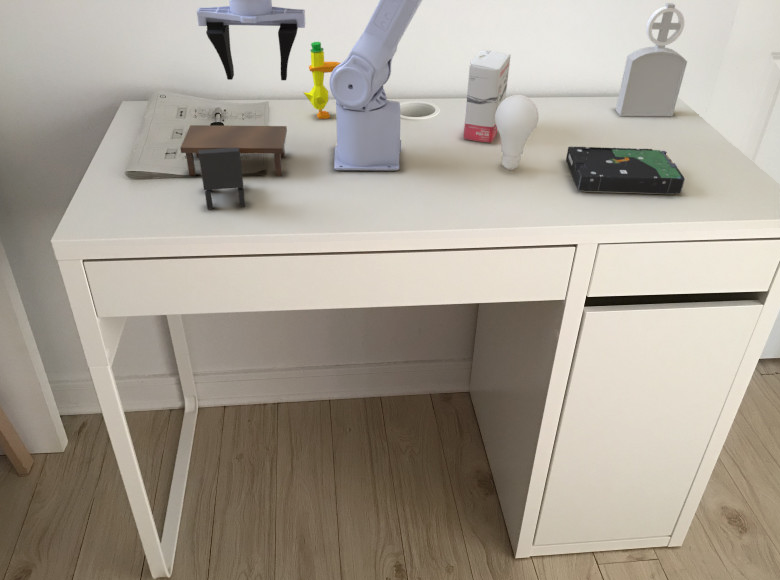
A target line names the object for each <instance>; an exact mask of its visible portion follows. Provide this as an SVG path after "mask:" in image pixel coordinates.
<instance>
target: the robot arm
mask: <svg viewBox="0 0 780 580" xmlns="http://www.w3.org/2000/svg"><path fill="white" fill-rule="evenodd" d="M422 2H423V0H379V1H378V3H377V5H376V7H375V9H374V11H373V13H372V15H371V16H370V19H369V20H368V23H367V24H366V27H365V29H364V30H363V32H362V34H361V35H360V37H359V38H358V40H357V41H356V43H355V44H354V45H353V47H352V48H351V50H350V52H349V54H348V56H347V57H346V58H345V60H343V61H342V62H339V63H340V64H339V65H337V66H336V67H335V68H334V70H333V71H332V72H330V76H329V84H328V85H329V89H330V92H331V95H332V96H333V98H334V100H335V116H336V117H335V118H336V119H335V120H336V145H335V146H334V161H333V162H334V164H333V169H334V170H335V171H400V153H401V152H402V139H401V103H400V101H397V100H390V99H388V98H387V94H386V90H385V89H384V85H386V84H387V82H388V81H389V79H390V77H391V75H392V63H393V59H394V56H395V55H396V53H397V52H398V51H397V50H398V45H399V43H400V42H401V40H402V38H403V36H404V35H405V32H406V31H407V28H408V27H409V25H410V23H411V22H412V19H413V18H414V17H415V15H416V13H417V10H418V9H419V7H420V5H421V4H422ZM228 4H229V5H224V6H210V7H198V9H197V11H196V17H197V23H198V27H206V32H205V33H206V35H207V36H206V37H207V39H208V40H209V41H210V43H211V45H212V46H213V47H214V50H215V51H216V54H217V55H218V57H219V59H220V61H221V64H222V66H223V69H224V72H225V75H226V79H227V80H228V81H232V80H233V79H234V76H235V70H234V63H233V57H232V51H231V39H230V38H231V37H230V26H257V27H258V26H260V27H261V26H262V27H264V26H265V27H266V26H267V27H279V28H278V31H277V36H278V37H277V38H278V45H279V56H280V80H281V81H287V78H288V65H289V58H290V54H291V51H292V48H293V46H294V43H295V40H296V37H297V35H298V34H297V33H298V29H300V28H301V29H305V28H306V10H305V9H301V8H300V9H299V8H289V7H280V6H273V2H272V0H228Z"/></svg>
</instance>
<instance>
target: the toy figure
mask: <svg viewBox="0 0 780 580" xmlns="http://www.w3.org/2000/svg"><path fill="white" fill-rule="evenodd" d="M310 46H311V49H310V65H308V70H309V72H311V74H312V81H313V86H312V88H311V89H310V91H309V92H307V91H306V92H304V91H303V94H304V96H305V97H306V98H307V100H308V101H309V102H310V104H311V106H313V108H314V109H315V110H318V112H317V114H316V117H317V119H318V120H324V119H325V120H327V119H330V118H331V114H330V113H329V112H328V111H326V110H324V109H326V107H327V104H328V103H329V91H328V89H327V88H326V86H325V85H324V79H325V74H326V73H332V71H333V70H334V68H335V67H336V66H337V65H339V64H340V63H341V62H339V61H325V51H324V50H325V49H324V48H323V47H322V42H321V41H313V42H311V43H310Z"/></svg>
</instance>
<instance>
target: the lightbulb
mask: <svg viewBox="0 0 780 580" xmlns="http://www.w3.org/2000/svg"><path fill="white" fill-rule="evenodd" d="M495 123H496V126H497V129H498V134H499V136H500V141H501V153H502V157H501V166H502V167H503V168H505V169H506V170H508V171H513V170H515V169H517V168H518V167H519V166H520V162H521V157H522V155H523V153H524V148H525V146H526V143H527V141H528V139H529V138H530V136H531V135H532V134H533V132H534V131H535V129H536V128H537V126H538V123H539V110H538V107H537V105H536V104H535V102H534V101H533V100H532V99H531V98H530V97H528V96H525V95H523V94H513V95H510V96H507V97H505V99H504V100H503V101H502V102H501V103H500V104H499V106H498V108H497V110H496V113H495Z"/></svg>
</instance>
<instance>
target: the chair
mask: <svg viewBox="0 0 780 580" xmlns="http://www.w3.org/2000/svg"><path fill="white" fill-rule="evenodd" d="M198 152H199V157H198V160H199V166H200V172H201V174H200V175H201V179H202V185H203V190H204V196H205V201H206V207H207V210H214V204H213V197H212V193H213V190H227V189H237V193H238V194H237V195H238V201H239V207H240V208H242V207H243V208H245V207H246V199H245V191H244V178H243V171H242V170H243V169H242V162H241V161H242V160H241V153H240V151H239V148H223V149H207V150H199V151H198ZM211 192H212V193H211Z"/></svg>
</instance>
